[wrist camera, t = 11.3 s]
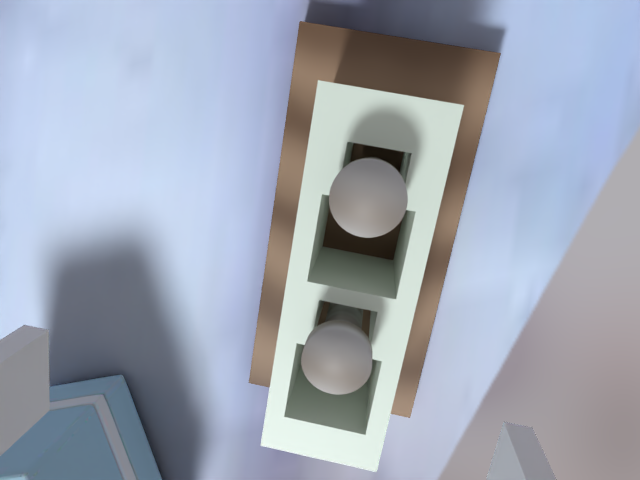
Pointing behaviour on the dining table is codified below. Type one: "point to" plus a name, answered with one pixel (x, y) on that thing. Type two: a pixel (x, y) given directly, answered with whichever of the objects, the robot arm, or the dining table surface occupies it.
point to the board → (386, 77)
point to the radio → (84, 437)
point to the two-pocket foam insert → (356, 270)
